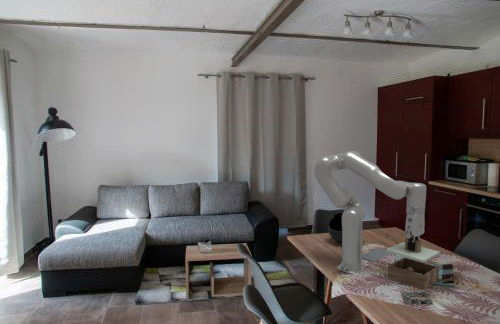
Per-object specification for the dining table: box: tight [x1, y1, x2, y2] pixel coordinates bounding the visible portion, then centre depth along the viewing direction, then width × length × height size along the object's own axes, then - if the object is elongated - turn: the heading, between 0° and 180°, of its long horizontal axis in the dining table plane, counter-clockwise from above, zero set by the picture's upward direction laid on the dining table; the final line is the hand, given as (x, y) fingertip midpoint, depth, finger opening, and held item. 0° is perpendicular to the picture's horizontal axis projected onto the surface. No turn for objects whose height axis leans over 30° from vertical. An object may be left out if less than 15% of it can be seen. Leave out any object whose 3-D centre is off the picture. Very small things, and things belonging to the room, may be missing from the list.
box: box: [387, 257, 440, 290], centre depth 153 cm, size 16×16×7 cm
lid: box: [385, 238, 441, 263], centre depth 152 cm, size 17×17×6 cm
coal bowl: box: [327, 212, 343, 245], centre depth 206 cm, size 20×20×19 cm
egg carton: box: [400, 289, 434, 307], centre depth 134 cm, size 11×8×4 cm
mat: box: [362, 247, 413, 263], centre depth 182 cm, size 22×22×1 cm
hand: (412, 248), depth 152 cm, fingers closed on lid, 3 cm apart
